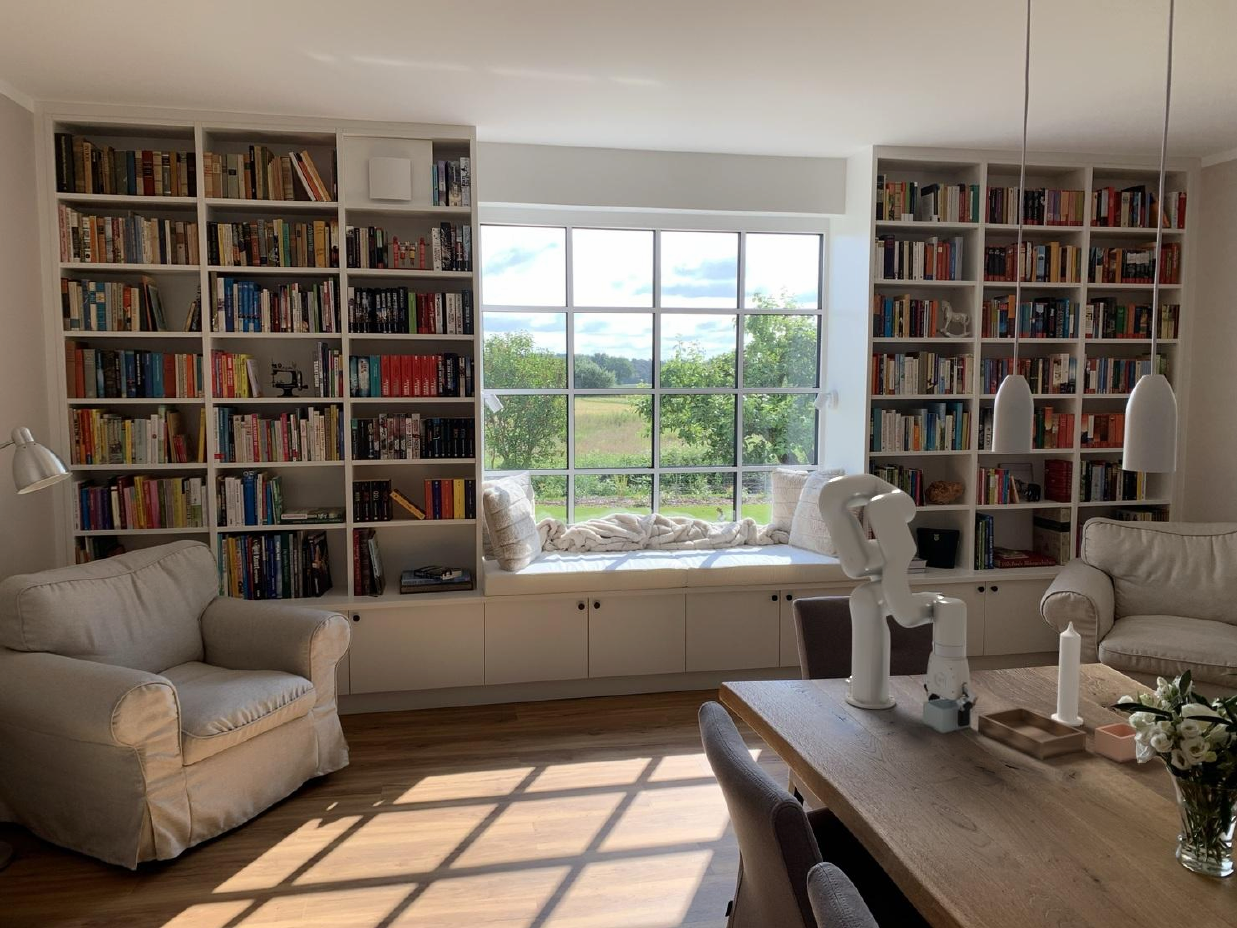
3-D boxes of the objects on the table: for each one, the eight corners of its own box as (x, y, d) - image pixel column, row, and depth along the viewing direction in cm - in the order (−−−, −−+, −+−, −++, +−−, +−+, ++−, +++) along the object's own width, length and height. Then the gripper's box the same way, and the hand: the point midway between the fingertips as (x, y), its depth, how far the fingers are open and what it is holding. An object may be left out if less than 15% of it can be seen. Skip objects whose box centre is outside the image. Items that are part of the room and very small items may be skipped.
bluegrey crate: (922, 723, 218) (923, 701, 218) (950, 718, 222) (951, 696, 222) (942, 733, 212) (942, 710, 212) (970, 727, 216) (971, 705, 216)
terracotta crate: (1093, 752, 201) (1094, 728, 201) (1121, 745, 205) (1122, 722, 204) (1120, 763, 195) (1121, 738, 195) (1148, 756, 199) (1149, 732, 198)
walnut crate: (977, 731, 213) (978, 715, 213) (1020, 722, 219) (1021, 706, 219) (1040, 760, 197) (1041, 742, 197) (1085, 749, 203) (1086, 732, 202)
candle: (1076, 728, 215) (1080, 627, 213) (1046, 720, 220) (1050, 621, 218) (1087, 721, 219) (1092, 621, 217) (1058, 713, 225) (1062, 616, 223)
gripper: (912, 643, 222) (911, 710, 223) (964, 661, 206) (963, 733, 207) (935, 639, 225) (934, 705, 226) (989, 657, 209) (987, 728, 210)
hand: (948, 718), depth 217 cm, fingers open, 9 cm apart
